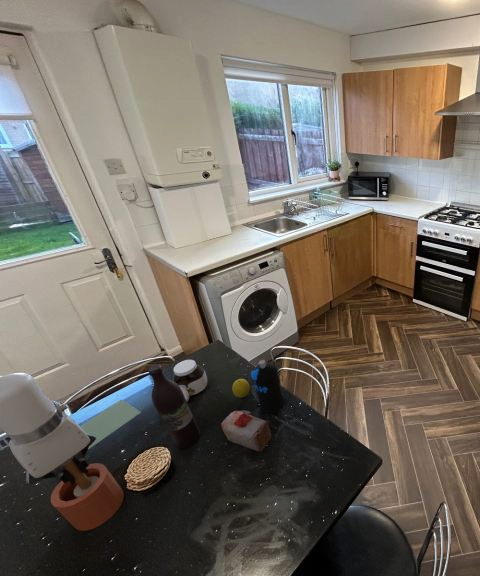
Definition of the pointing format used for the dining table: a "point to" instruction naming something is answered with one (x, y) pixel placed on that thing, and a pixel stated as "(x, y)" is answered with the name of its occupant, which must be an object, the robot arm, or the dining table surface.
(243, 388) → the lemon
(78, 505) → the terracotta pot
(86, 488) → the brush
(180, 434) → the wine bottle
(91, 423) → the mat
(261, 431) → the food item
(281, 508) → the dining table surface
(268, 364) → the aerosol can
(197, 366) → the spread jar
